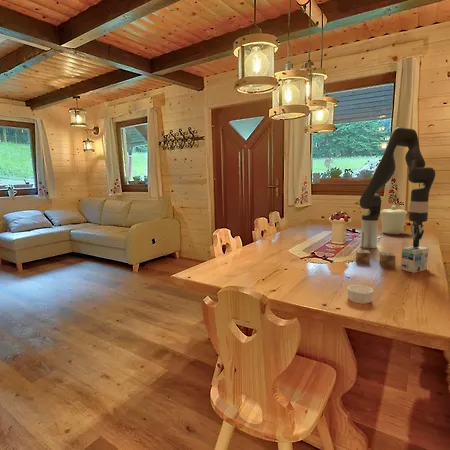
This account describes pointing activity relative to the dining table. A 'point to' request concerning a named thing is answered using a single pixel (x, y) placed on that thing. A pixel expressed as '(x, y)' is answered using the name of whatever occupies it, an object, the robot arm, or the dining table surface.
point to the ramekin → (360, 294)
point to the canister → (393, 220)
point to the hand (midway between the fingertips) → (415, 247)
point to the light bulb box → (414, 259)
